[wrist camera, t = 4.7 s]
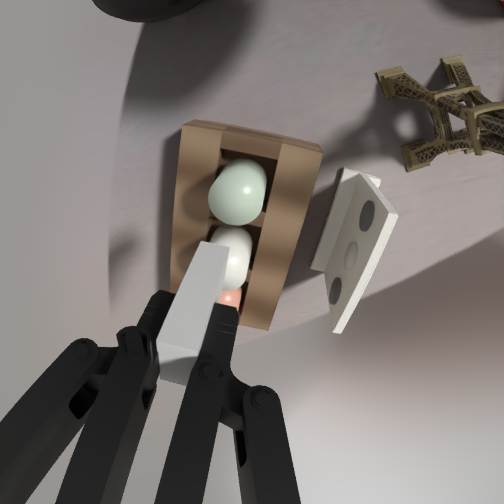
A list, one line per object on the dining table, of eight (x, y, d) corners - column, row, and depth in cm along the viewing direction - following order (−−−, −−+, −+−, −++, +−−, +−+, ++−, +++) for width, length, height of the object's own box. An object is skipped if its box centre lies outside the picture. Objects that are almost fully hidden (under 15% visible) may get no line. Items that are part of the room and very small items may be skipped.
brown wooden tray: (195, 119, 26) (182, 124, 23) (318, 144, 27) (323, 153, 23) (178, 287, 38) (169, 308, 34) (270, 308, 38) (268, 330, 34)
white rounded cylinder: (214, 219, 28) (201, 246, 24) (256, 228, 28) (250, 257, 24) (209, 254, 30) (197, 285, 26) (248, 263, 30) (241, 295, 26)
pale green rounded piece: (225, 153, 24) (212, 169, 20) (271, 163, 25) (268, 180, 20) (218, 195, 27) (205, 219, 22) (261, 204, 27) (256, 230, 22)
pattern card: (343, 166, 27) (369, 206, 19) (379, 178, 27) (416, 221, 19) (310, 266, 34) (315, 329, 25) (342, 273, 34) (356, 336, 25)
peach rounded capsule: (212, 261, 33) (201, 288, 29) (246, 269, 34) (241, 298, 29) (208, 288, 36) (198, 316, 31) (240, 295, 36) (234, 325, 31)
